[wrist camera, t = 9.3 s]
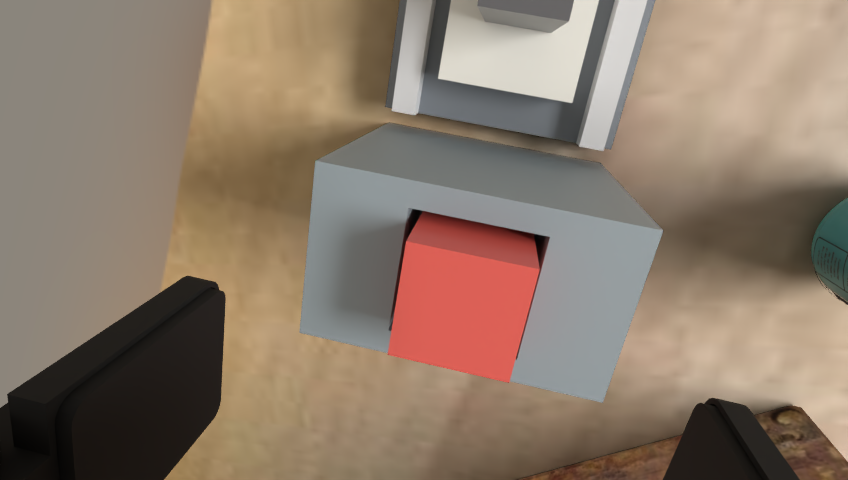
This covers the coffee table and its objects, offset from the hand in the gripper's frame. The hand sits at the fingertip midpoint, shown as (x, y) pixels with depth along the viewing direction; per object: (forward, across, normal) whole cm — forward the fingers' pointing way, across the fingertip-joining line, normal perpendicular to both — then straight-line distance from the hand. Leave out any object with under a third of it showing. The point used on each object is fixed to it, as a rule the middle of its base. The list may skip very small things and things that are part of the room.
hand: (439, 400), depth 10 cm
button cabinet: (+21, 0, +1) cm, 21 cm away
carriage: (+19, 0, -9) cm, 21 cm away
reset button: (+10, 0, +1) cm, 10 cm away
